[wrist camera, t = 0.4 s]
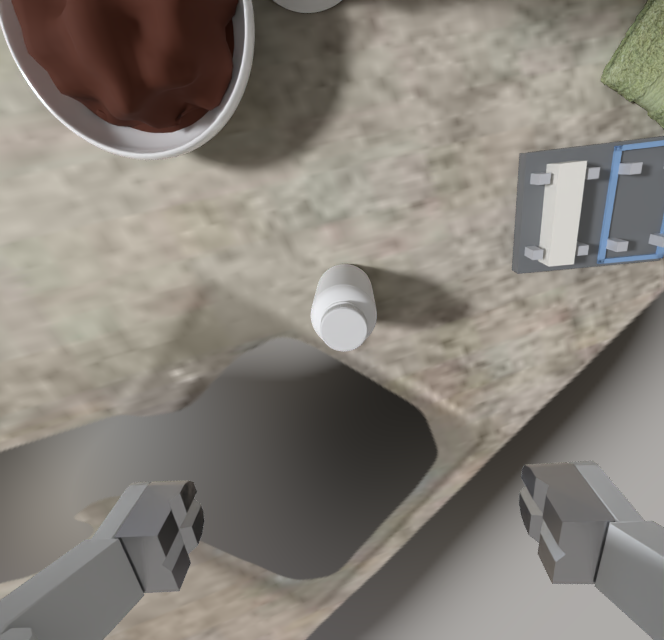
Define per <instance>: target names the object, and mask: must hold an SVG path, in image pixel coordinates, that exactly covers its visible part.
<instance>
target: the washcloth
mask: <svg viewBox="0 0 664 640" xmlns="http://www.w3.org/2000/svg"><path fill="white" fill-rule="evenodd" d="M601 82H602V83H604V85H608V87H609V88H611V89H613V90H615V91H618V94H621V95H622V96H623V97H624V98H625V99H626V100H628V101H629V102H631V101H634V102H636V104H638V105H639V106H640V107H642V108H644V109H645V110H646V111H648V116H650V118H651V119H654V120H656V122H657V123H659V125H660V126H661V127H662V128H663V129H664V0H648V1H647V3H646V5H645V6H644V9H643V10H642V11H641V12H640V14H639V15H638V16H637V18H636V21H635V23H633V24H632V26H631V27H630V28H629V30H628V31H627V33H626V37H625V38H624V39H623V40H622V41H621V44H620V45H619V47H618V49H617V50H616V51H615V53H614V55H613V56H612V58H611V60H610V62H609V63H608V64H607V65H606V67H605V69H604V71H603V75H602V77H601Z"/></svg>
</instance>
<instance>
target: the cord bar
mask: <svg viewBox="0 0 664 640" xmlns="http://www.w3.org/2000/svg"><path fill="white" fill-rule="evenodd" d="M586 167H587V161H567V162H559V163H550V164H547V169H546V173H551V178H550V184H545V190H544V201H543V212H542V223H541V233H540V244H539V248H541V249H543V259H539V260H538V261H539V262H541V263H543V264H545V265H547V266H549V267H550V266H561V265H571V264H574V259H575V251H576V244H577V236H578V228H579V221H580V213H581V205H582V197H583V190H584V182H585V174H586Z"/></svg>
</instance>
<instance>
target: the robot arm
mask: <svg viewBox="0 0 664 640" xmlns="http://www.w3.org/2000/svg"><path fill="white" fill-rule="evenodd" d="M273 1H274V2H275V3H277V4H279V5H280V6H282V7H284V8H286V9H289V10H292V11H295V12H301V13H314V12H320V11H323V10H326V9H329V8H331V7H333V6H335V5H336V4H338V3H339V2H341V1H342V0H273ZM521 478H522V480H523V482H524V484H525V487H524V488H523V489H522V490H521V491H520V494H519V506H520V512H521V516H522V519H523V522H524V525H525V528H526V530H527V532H528V534H529V535H530V536H531V537H532V538H534V539H535V540H536V541H537V542H539V548H538V555H539V557H540V559H541V561H542V563H543V566H544V567H545V570H546V572H547V574H548V576H549V578H550V580H551V582H552V584H595V587H596V588H597V589H598V590H599V591H600V592H602V593H603V594H604V595H605V596H606V597H607V598H608V599H609V600H610V601H612V602H613V603H614V604H615V605H616V606H617V607H618V608H619V609H620V610H622V611H623V612H624V613H625V614H626V615H627V616H628V617H629V618H630V619H631V620H632V621H634V622H635V623H636V624H637V625H638V626H639V627H640V628H641V629H642V630H643V631H645V632H646V633H647V634H648V635H649V636H650V637H651V638H652V639H653V640H664V527H662V526H661V525H659V524H657V523H656V522H654V521H645V520H644V519H643V518H642V517H641V515H640V514H639V513H638V512H637V511H636V509H635V508H634V507H633V506H632V505H631V504H630V502H629V501H628V500H627V499H626V497H625V496H624V495H623V494H622V493H621V491H620V490H619V489H618V488H617V487H616V485H615V484H614V483H613V482H612V481H611V479H610V478H609V477H608V476H607V475H606V473H605V472H604V471H603V470H602V469H601V467H600V466H599V465H598V464H597V463H595V462H594V461H580V462H569V463H567V462H565V463H547V464H529V465H524V467H523V469H522V474H521ZM196 493H197V490H196V488H195V485H194V482H192V481H153V482H134V483H132V484H131V485H129V486H128V487H127V489H126V490H125V492H124V493H123V494H122V496H121V497H120V499H119V500H118V501H117V503H116V504H115V506H114V507H113V509H112V510H111V511H110V513H109V514H108V516H107V517H106V519H105V520H104V521H103V523H102V524H101V526H100V527H99V529H98V530H97V531H96V533H95V534H94V536H93V537H92V539H88V540H84V541H82V542H81V543H80V544H78V545H77V546H75V547H74V548H73V549H71V550H70V551H68V552H67V553H66V554H64V555H63V556H61V557H60V558H59V559H57V560H56V561H54V562H53V563H52V564H50V565H49V566H47V567H46V568H45V569H43V570H42V571H40V572H39V573H38V574H36V575H35V576H33V577H32V578H31V579H29V580H28V581H26V582H25V583H24V584H22V585H21V586H19V587H18V588H17V589H15V590H14V591H12V592H11V593H10V594H8V595H7V596H5V597H4V598H3V599H1V600H0V640H103V639H104V638H105V637H106V636H107V635H108V634H109V633H110V632H111V631H112V630H113V629H114V628H115V626H116V625H117V624H118V623H119V622H120V621H121V620H122V619H123V618H124V617H125V616H126V615H127V613H128V612H129V611H130V610H131V609H132V608H133V607H134V606H135V605H136V604H137V603H138V602H139V600H140V599H141V598H142V597H143V596H144V593H153V592H172V591H180V588H181V586H182V583H183V581H184V578H185V576H186V573H187V571H188V569H189V566H190V564H191V562H190V558H189V555H188V554H189V553H190V552H191V551H192V550H193V549H194V548H196V547H197V546H198V544H199V541H200V538H201V536H202V532H203V526H204V512H203V509H202V505H201V504H200V503H199V502H197V501H196V500H195V499H194V497H195V495H196Z"/></svg>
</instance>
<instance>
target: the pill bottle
mask: <svg viewBox="0 0 664 640" xmlns="http://www.w3.org/2000/svg"><path fill="white" fill-rule="evenodd" d="M376 320H377V310H376V305H375V299H374V294H373V289H372V284H371V281H370V279H369V277H368V276H367V274H366V273H365V272H364V271H363V270H361V269H360V268H358V267H356V266H354V265H350V264H339V265H336V266H333V267H331V268H330V269H328V270H327V271H326V272H325V273H324V274H323V275H322V277H321V278H320V280H319V283H318V286H317V290H316V294H315V297H314V301H313V305H312V309H311V321H312V325H313V327H314V329H315V331H316V333H317V334H318V335H319V336H320V337H321V338H322V339H323V340H324V342H325V343H326V344H327V345H328V346H329V347H330V348H332V349H335V350H337V351H350V350H354V349H356V348H358V347H359V346H360V345H362V343H363V342H364V341H365V339H366V338H367V337H368V336H369V335H370V334H371V333H372V331H373V329H374V327H375V325H376Z"/></svg>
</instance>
